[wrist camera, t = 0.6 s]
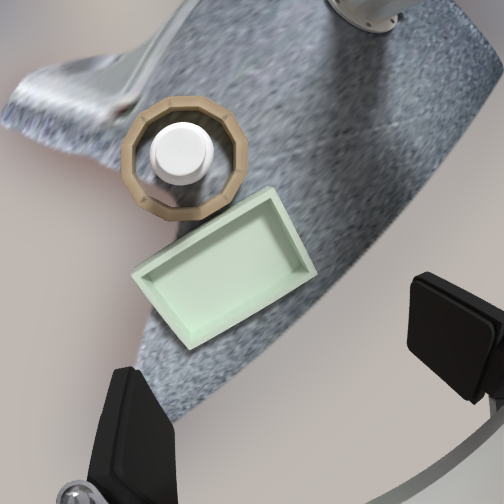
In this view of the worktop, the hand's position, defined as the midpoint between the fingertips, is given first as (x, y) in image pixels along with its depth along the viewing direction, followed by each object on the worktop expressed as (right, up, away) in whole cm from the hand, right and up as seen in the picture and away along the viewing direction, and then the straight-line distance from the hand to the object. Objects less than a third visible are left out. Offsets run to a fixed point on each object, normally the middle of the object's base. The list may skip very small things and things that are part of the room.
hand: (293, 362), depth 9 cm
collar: (-9, +14, +22) cm, 27 cm away
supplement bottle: (-9, +14, +22) cm, 27 cm away
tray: (-5, +2, +26) cm, 26 cm away
